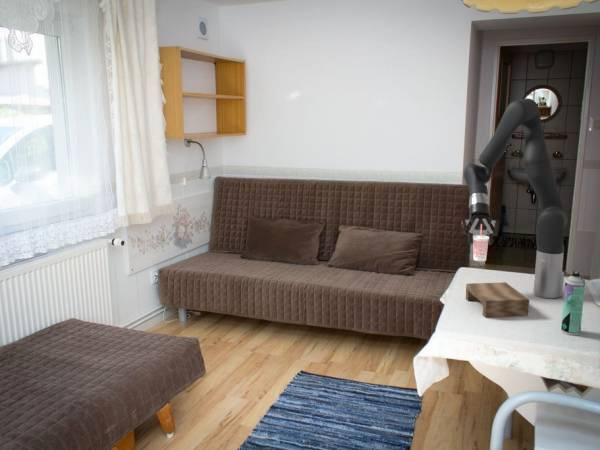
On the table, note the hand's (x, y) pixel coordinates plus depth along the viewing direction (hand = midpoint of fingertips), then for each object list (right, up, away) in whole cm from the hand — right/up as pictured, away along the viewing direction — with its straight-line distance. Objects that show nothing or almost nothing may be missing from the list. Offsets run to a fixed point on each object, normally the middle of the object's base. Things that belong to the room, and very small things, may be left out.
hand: (481, 243), depth 208 cm
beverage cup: (+1, -6, +3) cm, 7 cm away
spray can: (+18, -27, -32) cm, 46 cm away
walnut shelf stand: (+2, -23, -10) cm, 25 cm away
